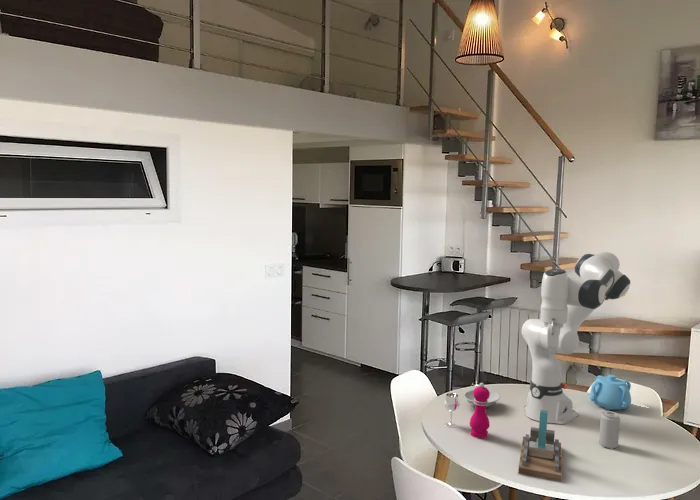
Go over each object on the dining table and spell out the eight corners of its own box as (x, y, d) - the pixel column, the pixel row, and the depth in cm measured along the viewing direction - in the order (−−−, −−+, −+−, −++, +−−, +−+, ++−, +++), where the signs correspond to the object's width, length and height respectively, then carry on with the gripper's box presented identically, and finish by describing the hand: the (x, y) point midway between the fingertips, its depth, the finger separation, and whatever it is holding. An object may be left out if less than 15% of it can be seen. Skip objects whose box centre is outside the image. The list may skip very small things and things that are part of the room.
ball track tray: (522, 441, 213) (524, 423, 212) (560, 448, 208) (562, 429, 208) (518, 473, 188) (519, 452, 188) (561, 481, 184) (562, 460, 183)
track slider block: (528, 449, 201) (531, 407, 200) (553, 453, 199) (556, 410, 197) (528, 455, 197) (531, 412, 195) (553, 459, 194) (556, 416, 192)
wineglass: (454, 429, 222) (456, 398, 220) (440, 425, 225) (442, 395, 224) (460, 424, 227) (462, 394, 225) (446, 421, 230) (448, 391, 228)
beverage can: (616, 443, 214) (619, 412, 213) (618, 450, 208) (621, 418, 207) (598, 440, 216) (600, 409, 215) (599, 447, 210) (601, 415, 209)
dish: (485, 417, 235) (485, 405, 234) (455, 407, 245) (455, 395, 244) (506, 406, 248) (507, 395, 247) (477, 397, 257) (478, 386, 257)
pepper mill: (489, 440, 213) (492, 387, 211) (469, 437, 215) (472, 385, 213) (488, 432, 220) (491, 380, 218) (469, 430, 222) (471, 378, 220)
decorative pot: (634, 406, 254) (637, 375, 252) (625, 416, 241) (627, 384, 240) (595, 396, 264) (598, 367, 262) (584, 406, 251) (586, 375, 250)
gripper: (563, 322, 191) (561, 364, 191) (563, 312, 210) (562, 350, 211) (542, 321, 193) (541, 362, 194) (545, 311, 212) (544, 349, 213)
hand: (552, 356), depth 202 cm, fingers open, 8 cm apart
